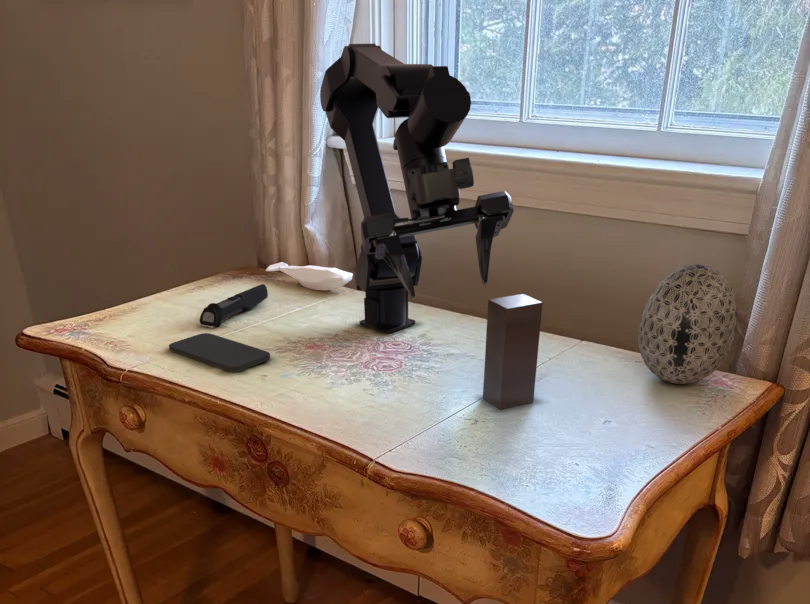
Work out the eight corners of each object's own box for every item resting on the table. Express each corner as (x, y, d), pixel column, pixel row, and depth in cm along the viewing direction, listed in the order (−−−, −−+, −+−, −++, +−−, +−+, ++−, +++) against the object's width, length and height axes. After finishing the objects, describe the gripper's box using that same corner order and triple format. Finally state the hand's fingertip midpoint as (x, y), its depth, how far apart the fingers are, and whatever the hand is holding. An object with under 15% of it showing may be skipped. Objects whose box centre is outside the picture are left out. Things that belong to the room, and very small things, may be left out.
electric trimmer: (274, 303, 134) (273, 284, 133) (217, 328, 123) (214, 308, 121) (256, 300, 136) (254, 281, 134) (198, 325, 124) (195, 305, 122)
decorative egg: (727, 372, 107) (754, 258, 99) (718, 405, 98) (746, 282, 90) (639, 360, 111) (658, 249, 103) (623, 390, 102) (642, 271, 94)
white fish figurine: (338, 299, 135) (337, 275, 133) (265, 281, 145) (262, 259, 142) (359, 292, 139) (358, 268, 137) (286, 275, 148) (284, 253, 146)
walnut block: (482, 398, 100) (487, 299, 93) (515, 391, 102) (522, 293, 95) (500, 409, 97) (507, 308, 90) (533, 402, 99) (542, 302, 92)
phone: (206, 331, 119) (273, 353, 111) (206, 337, 119) (274, 358, 111) (165, 345, 114) (232, 368, 106) (166, 350, 115) (233, 374, 107)
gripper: (349, 150, 90) (376, 284, 91) (508, 120, 91) (535, 253, 91) (351, 192, 102) (376, 311, 102) (493, 165, 102) (517, 284, 103)
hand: (449, 290), depth 99 cm, fingers open, 9 cm apart
